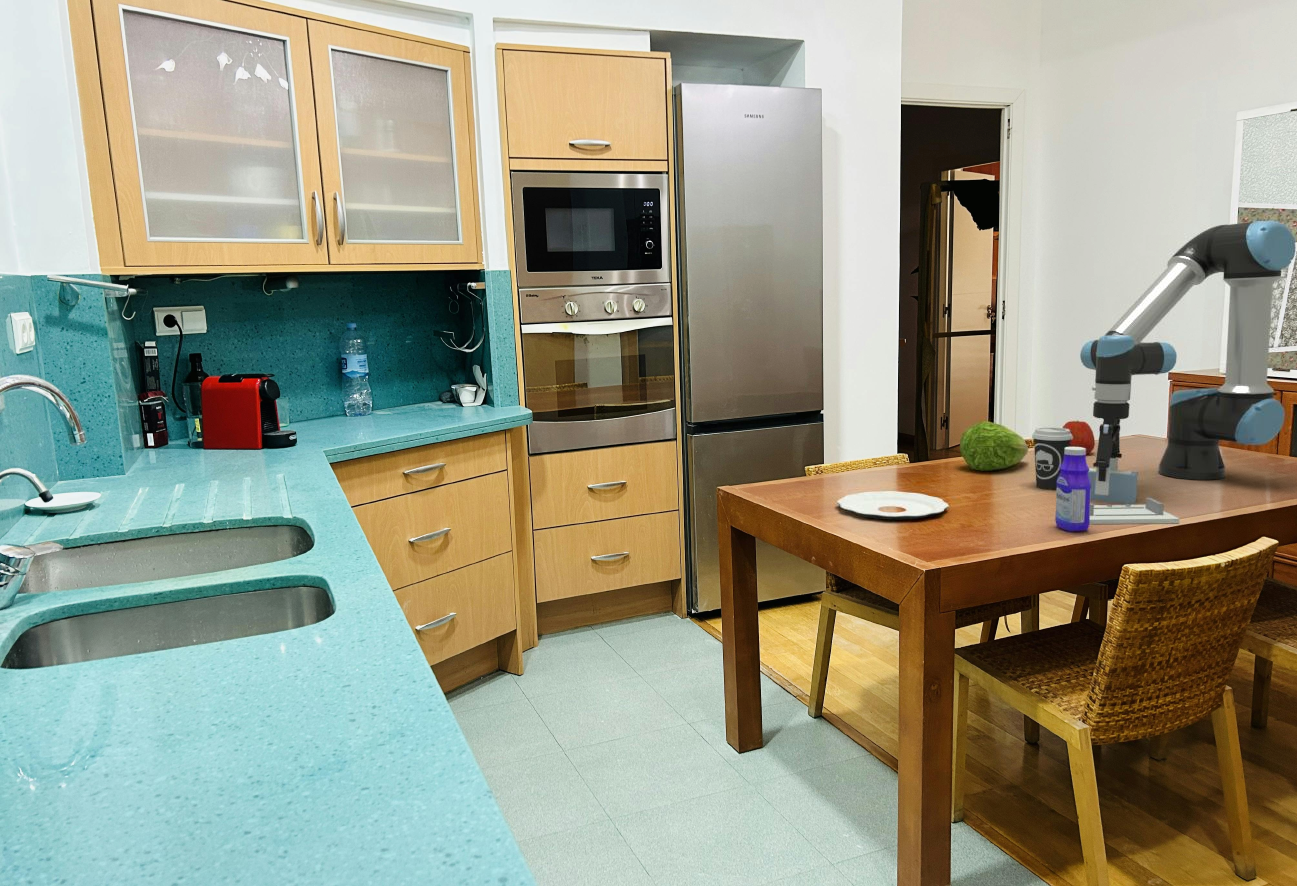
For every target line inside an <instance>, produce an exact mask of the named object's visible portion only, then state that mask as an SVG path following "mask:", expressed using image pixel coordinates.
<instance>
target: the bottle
mask: <svg viewBox="0 0 1297 886" xmlns="http://www.w3.org/2000/svg"><path fill="white" fill-rule="evenodd" d="M1086 458H1087V454H1086V449H1085V448H1082V447H1066V448H1065V450H1064V459H1063V462H1062V464H1061V466H1060V467H1059V469H1060V470H1061V473H1060V475H1059V476H1058V479H1057V490H1056V494H1055V495H1056V498H1055V499H1056V500H1055V518H1054V519H1055V524H1056V526H1057V527H1058V528H1060V529H1062V530H1065V531H1068V532H1084V531H1085V532H1086V531H1087V530H1089V527H1090V525H1091V524H1090V522H1089V521H1090V503H1091V500H1090V495H1091V482H1090V479H1089V476H1088V471H1089V468H1090V467H1089V466H1088V464H1087V463H1088V462H1087V459H1086Z"/></svg>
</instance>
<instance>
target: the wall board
mask: <svg viewBox="0 0 1297 886" xmlns="http://www.w3.org/2000/svg"><path fill="white" fill-rule="evenodd" d="M1164 504H1165V503H1162V502H1161V501H1158V500H1157V499H1154V498H1152V497H1146V498H1145V504H1111V503H1110V504H1109V503H1108V504H1106V505H1105V504H1104V505H1103V504H1102V505H1100V504H1098V505H1097V504H1094V503H1091V502H1090V521H1089V522H1090V524H1089V525H1125V524H1127V525H1128V524H1129V525H1133V524H1135V525H1136V524H1137V525H1138V524H1140V525H1141V524H1145V525H1147V524H1154V525H1155V524H1180V518H1179V517H1177V516H1175V515H1174V514H1170V513H1169V512H1166V511H1165V510H1164V508H1165V507H1164V506H1165V505H1164Z"/></svg>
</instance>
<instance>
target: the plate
mask: <svg viewBox="0 0 1297 886" xmlns="http://www.w3.org/2000/svg"><path fill="white" fill-rule="evenodd" d="M836 503H837V504H838V505H839V506H840V507H839V508H841V509H842V510H844V511H847V512H851V513H853V514H856V515H858V516H862V517H864V518H865V517H866V518H870V519H871V518H872V519H877V520H889V521H890V520H893V521H896V520H897V521H898V520H900V521H902V520H903V521H905V520H915V519H923V518H928V517H930V516H933V515H938V514H939V515H940V514H941V513H944V511H945V510H946V509H948V508H949V506H950V505H949V503H947V502H945V501H944V500H943V499H942V498H940V497H936V496H930V495H927V494H924V493H918V492H905V491H895V490H893V491H892V490H890V491H889V490H888V491H886V490H885V491H884V490H883V491H864V492H859V493H853V494H852V493H851V494H846V495H844V496H843V497H842V498H840V499H837V501H836ZM883 507H897V508H903V509H904V510H905V511H901V512H900V511H899V512H885V511H881V510H880V509H879V508H883Z"/></svg>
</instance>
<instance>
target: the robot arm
mask: <svg viewBox="0 0 1297 886" xmlns="http://www.w3.org/2000/svg"><path fill="white" fill-rule="evenodd" d="M1295 254H1296V240H1295V237H1294V235H1293V232H1292V231H1291V229H1289V228H1288V226H1286V224H1284V223H1282V222H1279V221H1277V220H1257V221H1250V222H1241V223H1240V222H1239V223H1234V224H1233V223H1231V224H1220V225H1216V226H1214V227H1211V228H1208V229H1206V230H1203V231H1202V232H1200V233H1198V235H1196V236H1194V237H1193V238H1191V239H1190V240H1189V241H1187V242H1185V244H1184V245H1182V246H1181V247H1180V248H1179V249H1178V250H1177V251H1176V252H1175V254H1173V255H1172V256H1171V257H1170V258H1169V260H1168V261H1167V268H1166V269H1165V270H1164V271H1163V272H1162V273H1161V274H1160V275H1159V276H1158V277H1157V279H1155V280H1154V282H1153V283H1152V284H1151V285H1150V286H1149V287H1148V288H1147V289H1146V290H1145V291H1144V292H1143V294H1141V295H1140V297H1139V298H1138V299H1137V300H1136V301H1135V302H1133V304H1132V305H1131V306H1130V307H1129V308H1128V309H1127V311H1125V313H1124V314H1123V315H1122V316H1121V317H1120V318H1118V320H1117V321H1116V322H1115V323H1114V325H1113V326H1111V328H1110V329H1109V330H1107V332H1106V333H1105V334H1104V335H1102V336H1100V337H1099V338H1098V339H1094V340H1093V339H1092V340H1089V341H1087V342H1086V343H1084V345H1083V346H1082V348H1081V350H1080V356H1079V357H1080V361H1081V362H1080V363H1082V365H1083V366H1084V367H1085V368H1086V369H1088V370H1094V371H1095V380H1094V381H1095V382H1094V383H1095V384H1094V386H1092V387H1091V390H1092V391H1094V395H1093V397H1094V400H1095V401H1094V402H1093V408H1092V410H1093V411H1092V413H1093V414H1092V416H1093V417H1094V418H1096V419H1102V420H1103V422H1102V423H1101V424H1100V425H1099V430H1098V431H1099V436H1098V444H1097V450H1096V460H1095V462H1093V463H1092V466H1093V468H1095V469H1096V485H1095V494H1099V495H1108V491H1109V476H1110V470H1119V469H1118V468H1119V467H1118V466H1119V459H1122V455H1123V454H1122V453H1121V451H1120V450H1121V448H1120V432H1121V425H1120V423H1121V420H1126V419H1128V418H1129V416H1130V403H1129V402H1128V401H1130V400H1131V392H1132V391H1131V390H1132V376H1135V375H1136V376H1138V375H1142V376H1143V375H1144V376H1145V375H1156V376H1158V375H1160V374H1166V373H1169V372H1170V371H1171V370H1173V369H1174V367H1175V365H1176V364H1177V360H1178V359H1177V358H1178V357H1177V356H1178V355H1177V351H1176V349H1175V347H1174V346H1173V345H1172V344H1170V343H1167V342H1160V341H1155V342H1142V341H1143V340H1144V339H1145V338H1146V337H1147V336H1148V335H1149V334H1150V333H1151V332H1152V331H1153V330H1154V328H1155V327H1156V326H1157V325H1158V324H1159V323H1160V322H1161V321H1162V319H1164V318H1165V316H1167V314H1169V312H1170V311H1171V310H1172V309H1173V308H1174V307H1175V306H1176V305H1177V303H1178V302H1179V301H1180V300H1182V298H1183V297H1184V296H1185V295H1186V294H1187V293H1188V292H1189V291H1190V290H1191V288H1192V287H1194V286H1199V285H1201V284H1202V283H1203V282H1204V281H1205V280H1206V279H1207V278H1208V277H1210V276H1212V275H1214V274H1218V273H1223V279H1222V280H1223V281H1224V282H1225V283H1226V284H1227V285H1228V286H1229V303H1228V304H1229V306H1228V323H1227V343H1226V358H1225V359H1226V360H1225V379H1224V384H1222V385H1221V386H1220V387H1217V388H1216V387H1214V388H1212V387H1211V388H1210V387H1209V388H1197V389H1196V388H1195V389H1183V390H1182V389H1181V390H1176V391H1175V390H1174V392H1172V394H1171V396H1170V404H1169V412H1168V413H1169V414H1168V416H1169V417H1168V434H1167V435H1168V437H1167V438H1168V439H1167V445H1166V448H1165V450H1164V453H1163V455H1162V457H1161V459H1160V462H1159V464H1158V473H1159V474H1160V475H1163V476H1166V477H1170V478H1177V479H1185V480H1197V481H1198V480H1201V481H1203V480H1206V481H1207V480H1208V481H1209V480H1219V479H1223V478H1225V477H1226V467H1225V463H1224V460H1223V457H1222V454H1221V450H1220V441H1225V442H1230V443H1231V442H1232V443H1237V444H1240V445H1254V446H1261V445H1264V444H1266V443H1269V442H1271V440H1273V439H1274V438H1275V436H1277V435H1278V434H1279V432H1280V431H1281V429H1282V427H1283V425H1284V420H1285V415H1286V413H1285V408H1284V407H1283V406H1282V403H1281V402H1280V401H1279V400H1276V399H1275V398H1274V397H1275V396H1274V394H1275V393H1274V392H1275V390H1274V389H1273V388H1272V386H1270V385H1269V384H1268V370H1269V369H1268V368H1269V352H1270V338H1271V335H1270V334H1271V321H1272V320H1271V319H1272V305H1273V302H1272V301H1273V286H1274V284H1276V282H1277V281H1278V280H1279V279H1281V277H1282V271H1283V270H1284V269H1286V268H1287V267H1289V266H1290V265H1291V263H1292V260H1294V257H1295Z"/></svg>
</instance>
